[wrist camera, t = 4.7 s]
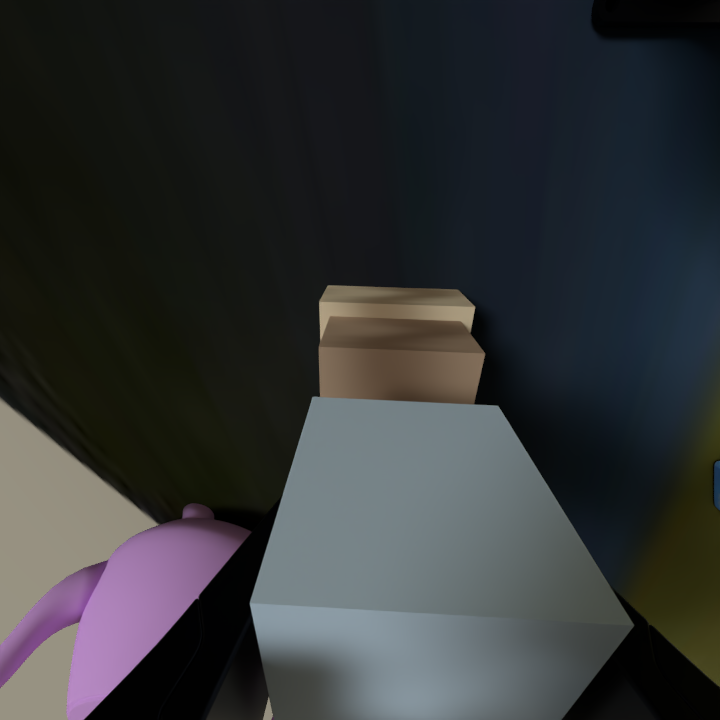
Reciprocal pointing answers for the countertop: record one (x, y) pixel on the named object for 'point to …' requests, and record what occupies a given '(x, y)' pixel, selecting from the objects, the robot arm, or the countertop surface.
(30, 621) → the teapot
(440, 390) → the walnut mid slab
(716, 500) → the ink box
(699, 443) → the countertop surface
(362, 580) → the pale blue cube
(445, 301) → the oak base slab
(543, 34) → the countertop surface
